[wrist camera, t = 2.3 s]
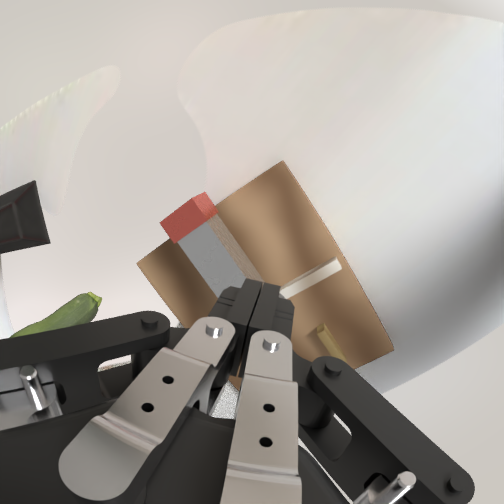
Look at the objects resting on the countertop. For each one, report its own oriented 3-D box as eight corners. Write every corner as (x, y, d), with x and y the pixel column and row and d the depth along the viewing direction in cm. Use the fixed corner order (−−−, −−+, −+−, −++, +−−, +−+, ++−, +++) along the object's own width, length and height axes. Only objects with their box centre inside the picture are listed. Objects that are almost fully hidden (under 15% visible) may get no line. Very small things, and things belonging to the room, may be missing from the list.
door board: (283, 160, 27) (279, 162, 24) (392, 343, 31) (398, 362, 28) (141, 259, 33) (125, 271, 30) (255, 401, 37) (250, 420, 34)
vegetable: (100, 318, 37) (-2, 417, 19) (76, 297, 37) (-31, 384, 18) (111, 296, 36) (-3, 399, 17) (85, 274, 35) (-35, 362, 17)
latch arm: (299, 318, 28) (297, 340, 25) (258, 338, 29) (252, 360, 26) (209, 188, 25) (195, 195, 22) (170, 217, 27) (153, 227, 24)
